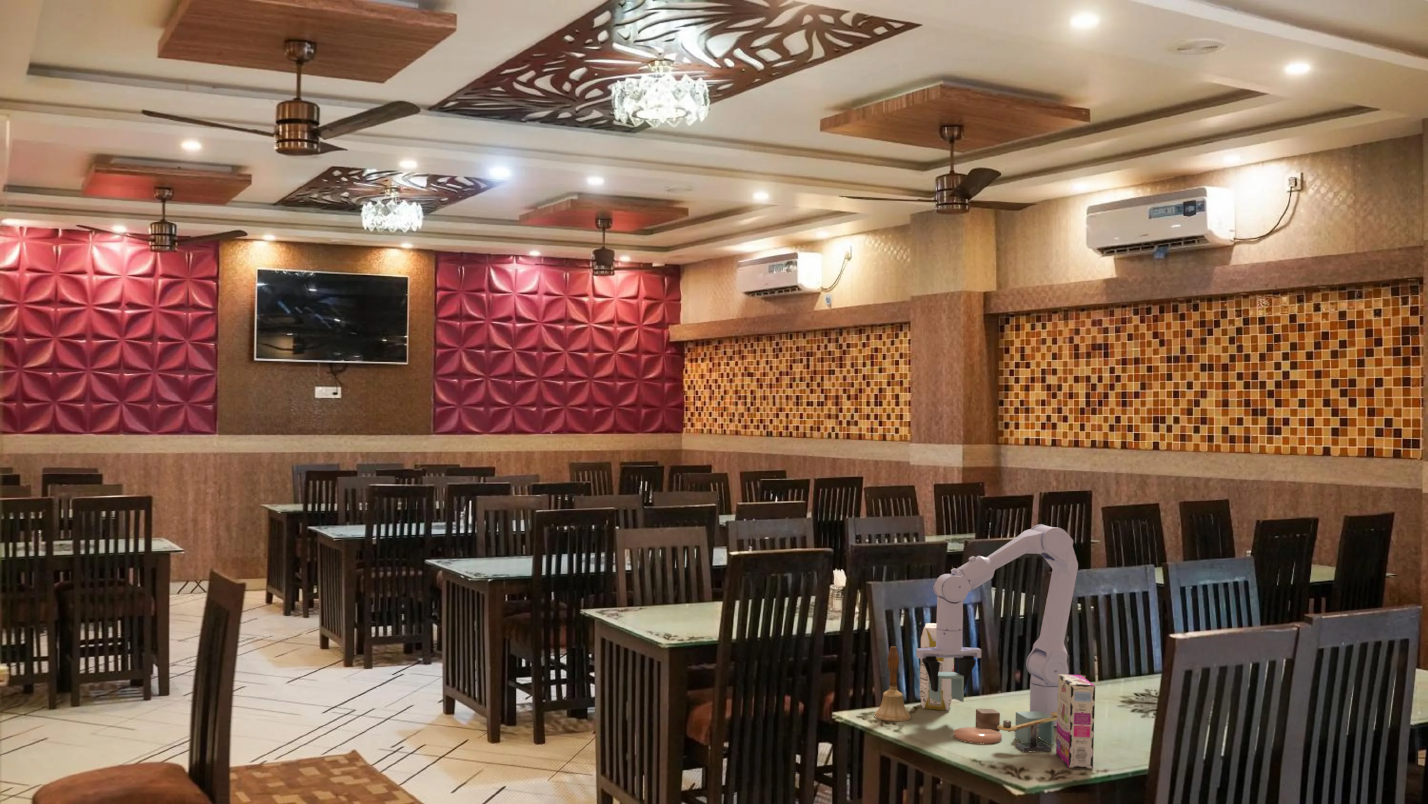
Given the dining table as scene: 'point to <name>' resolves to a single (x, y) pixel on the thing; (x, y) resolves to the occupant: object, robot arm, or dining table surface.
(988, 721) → the walnut block
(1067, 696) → the candy bar box
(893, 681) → the hand bell
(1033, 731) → the balance
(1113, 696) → the dining table surface
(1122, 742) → the dining table surface
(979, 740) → the terracotta dish
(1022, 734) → the teal cover
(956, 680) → the teal cover
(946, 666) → the juice carton
